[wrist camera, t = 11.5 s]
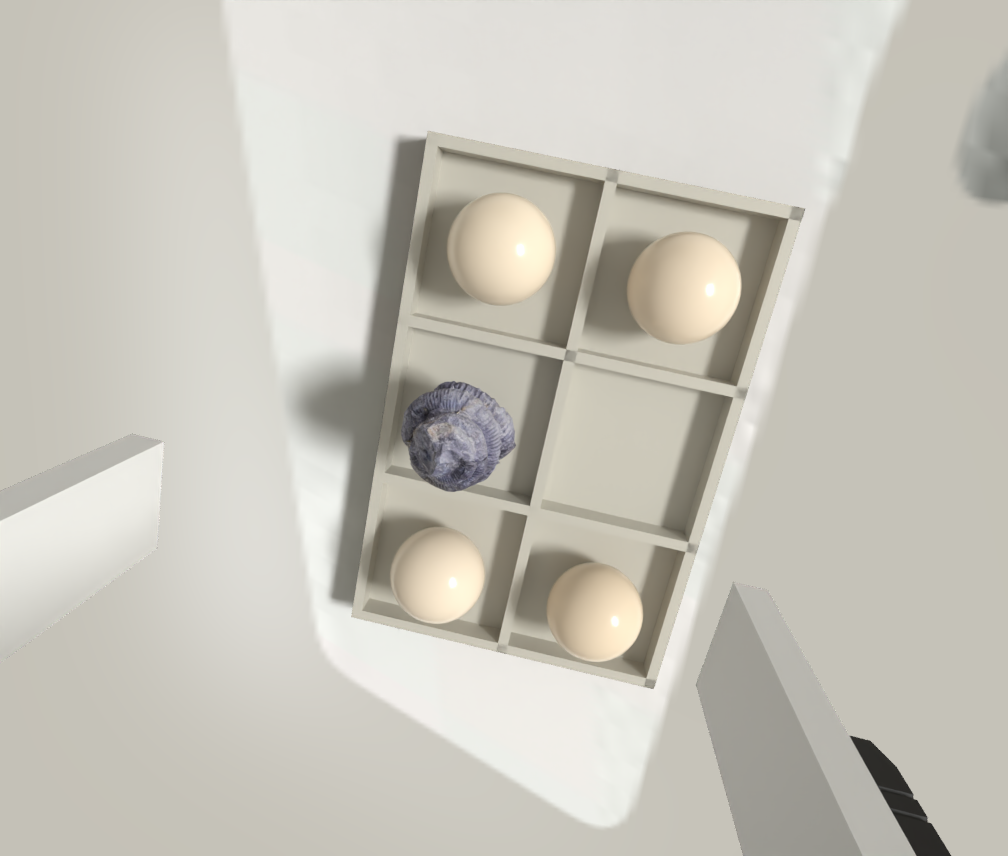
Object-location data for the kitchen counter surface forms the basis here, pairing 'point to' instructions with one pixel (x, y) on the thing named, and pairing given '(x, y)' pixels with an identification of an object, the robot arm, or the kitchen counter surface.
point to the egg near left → (501, 249)
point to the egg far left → (437, 575)
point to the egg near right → (684, 288)
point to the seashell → (456, 435)
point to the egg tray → (569, 399)
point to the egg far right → (594, 612)
